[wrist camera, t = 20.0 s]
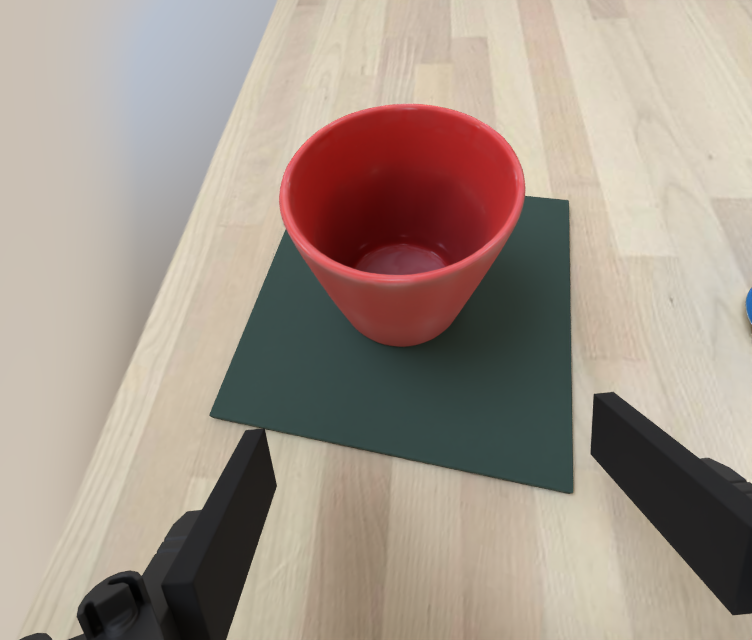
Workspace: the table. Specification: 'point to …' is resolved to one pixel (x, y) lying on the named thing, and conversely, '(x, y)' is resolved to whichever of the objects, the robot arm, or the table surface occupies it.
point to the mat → (424, 366)
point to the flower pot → (402, 214)
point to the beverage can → (749, 305)
